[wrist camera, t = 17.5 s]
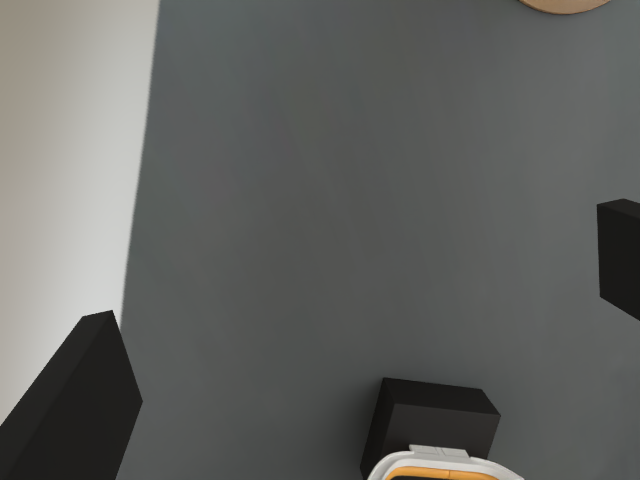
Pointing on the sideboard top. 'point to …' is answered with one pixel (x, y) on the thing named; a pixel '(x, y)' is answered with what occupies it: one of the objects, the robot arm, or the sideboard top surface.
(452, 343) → the sideboard top surface
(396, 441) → the lamp
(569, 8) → the tan round disc
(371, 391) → the sideboard top surface
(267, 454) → the sideboard top surface
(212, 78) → the sideboard top surface
